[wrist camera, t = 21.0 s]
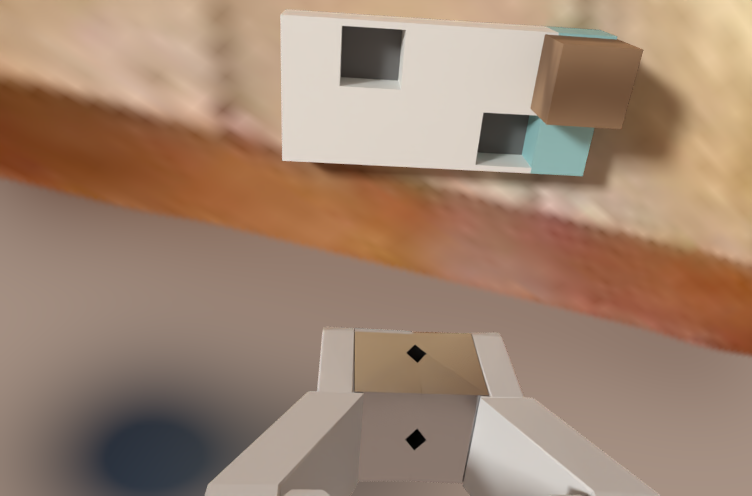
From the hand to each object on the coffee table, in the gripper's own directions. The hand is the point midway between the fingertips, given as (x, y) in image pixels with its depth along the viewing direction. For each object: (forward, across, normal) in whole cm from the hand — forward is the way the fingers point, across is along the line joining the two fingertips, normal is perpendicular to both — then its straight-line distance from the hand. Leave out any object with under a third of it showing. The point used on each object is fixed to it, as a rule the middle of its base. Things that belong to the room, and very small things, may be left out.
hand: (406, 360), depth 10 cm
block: (+25, -11, 0) cm, 27 cm away
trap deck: (+27, -4, +1) cm, 27 cm away
